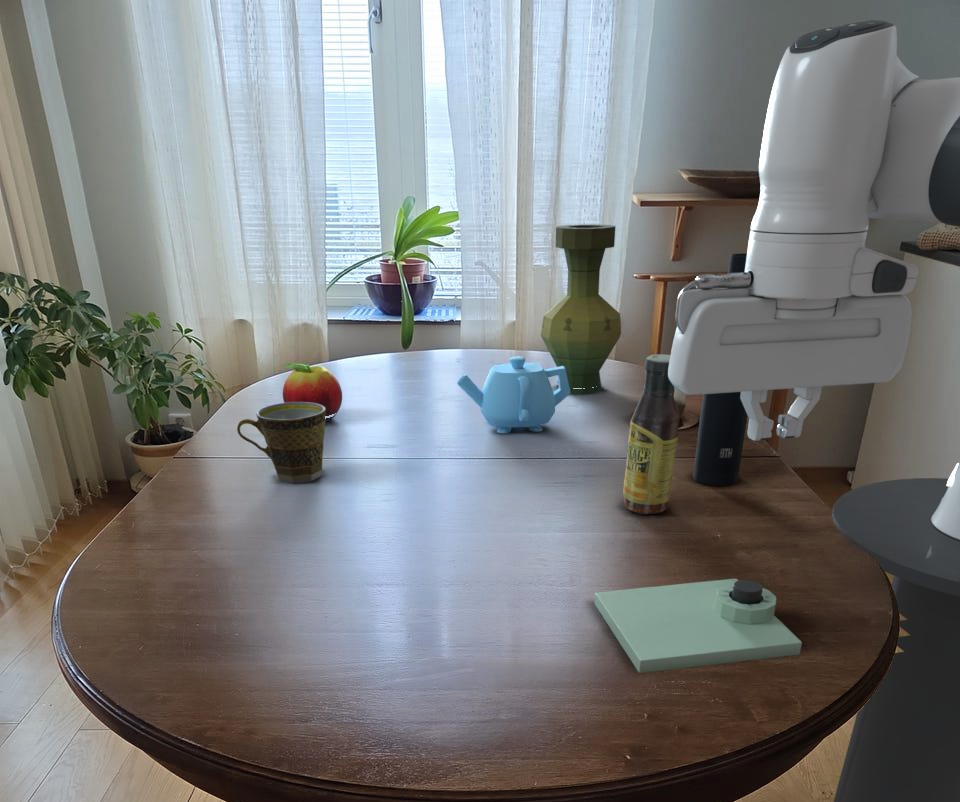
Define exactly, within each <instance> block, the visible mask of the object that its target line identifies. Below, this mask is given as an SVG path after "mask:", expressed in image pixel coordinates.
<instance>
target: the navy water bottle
mask: <svg viewBox="0 0 960 802" xmlns="http://www.w3.org/2000/svg"><path fill="white" fill-rule="evenodd" d="M746 258H747V252H746V253H745V252H744V253H732V254H730V255H729V262H728V269H727V274H728V273H742V272H745V265H746ZM740 395H741V392H731V393H715V394H702V397H701V398H702V399H701V408H700V415H699V424H698V433H697V441H696V448H695V456H694V464H693V473H692V477H693V480H694V481H696V482H697V483H699V484H703V485H706V486H712V487H713V486H714V487H725V486H726V487H727V486H732V485H734V484H737V482H738V480H739V475H740V469H741V463H742V462H741V461H742V456H743V449H744V444H745V443H744V442H745V435H746V430H747V429H746V428H747V422H748V415H747V413H746V410H745V408H744V406H743V403H742V401H741V399H740Z"/></svg>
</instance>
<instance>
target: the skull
mask: <svg viewBox="0 0 960 802" xmlns="http://www.w3.org/2000/svg"><path fill="white" fill-rule="evenodd" d="M674 389H675V391H674V400H675V402H676V404H677V406H678V409H679V412H680V420H679V427H678V430H682V429H687V428H690V427H693V426H695V425H696V424H697V423H698V422H699V418H698V416H697V415H696V414H694V413H693V412H691V411H688V410H686V409H685V408H686V406H687V394H685V393H683V392H681V391H679V390H678V389H676V388H675V387H674ZM634 412H635V410H634V411H633V412H631V414H630V415H629V419H630V420H631V419H632V417H633V414H634Z"/></svg>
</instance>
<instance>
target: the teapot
mask: <svg viewBox="0 0 960 802" xmlns="http://www.w3.org/2000/svg"><path fill="white" fill-rule="evenodd" d="M556 376H557V382H558V384H559V388H558V389H555V390H553V387H552V384H551V381H550V379H549V378H551V377H556ZM456 384H457V386H459V387H460V389H462V391H463V392H464V393H465V394H467V396H468V397H469V398H470V399H471V400H472V401H473V402H474V403H476V405H477V406H478V407H479V410H480V413H481V414H482V416H483V418H484V420H485V421H486V422H487V423H488V424H490V425H491V426H494V427H498V428H497V431H496V432H497V433H499V434H508V433H509V434H510V433H511V431H512V428H526V427H528V430H529V432H542V431H543V427H542V426H543V425H546V424H548V423H549V422H550V421H551V419H552V417H554V414H555V412H556V406H558V405H559V404H560V403H561V402H562V401H563V400H565V399H566V398H567V397H569V396H570V395H571V392H570V388H569V383H568V379H567V374H566V370H565V367H564V366H560V367H557V366H554V367H547V368H544V367H543V366H542V365H540V364H539V363H535V362H526V357H524V356H511V357H510V358H509V362H507V363H498V364H495V365H493V366H492V367H491V369H490V370H489V372H488V375H487V377H486V379H485V382H484V384H483V386H482V389H480V388H479V387H478V386H477V385H476V384H475V382H474V381H473V380H472V379H471V378H470V377H469V376H468V374H464V375H462V376H461V377H460V378H459V379H458V380H457V382H456Z"/></svg>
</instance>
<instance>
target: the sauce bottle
mask: <svg viewBox="0 0 960 802" xmlns="http://www.w3.org/2000/svg"><path fill="white" fill-rule="evenodd" d="M670 355H671V354H661V353H660V354H659V353H658V354H651V355H648V356H647V357H646V358H645V364H644V370H645V378H644V386H643V389H642V390H643V392H642V394H641V396H640V399H639V401H638V403H637V405H636V408H635V410H634V411H635V412H634V411H633V412H634V414H633V417H632V419H630V423H629V432H628V443H627V451H626V452H627V454H626V460H625V472H624V480H623V489H622V490H623V492H622V493H623V494H622V495H623V506H624V508H625V509H626V510H628V511H631V512H633V513H636V514H638V515H654V514H660V513H662V512H665V511H666V510H667V509H668V507H669V500H670V498H671V491H672V484H673V478H674V469H675V462H676V455H677V448H678V440H679V429H678V427H679V420H680V412H679V409H678V406H677V404H676V402H675V400H674V391H675V389H674V386H673V384H672V383H671V381H670V380H669V378H668V368H669V361H670Z"/></svg>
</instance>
